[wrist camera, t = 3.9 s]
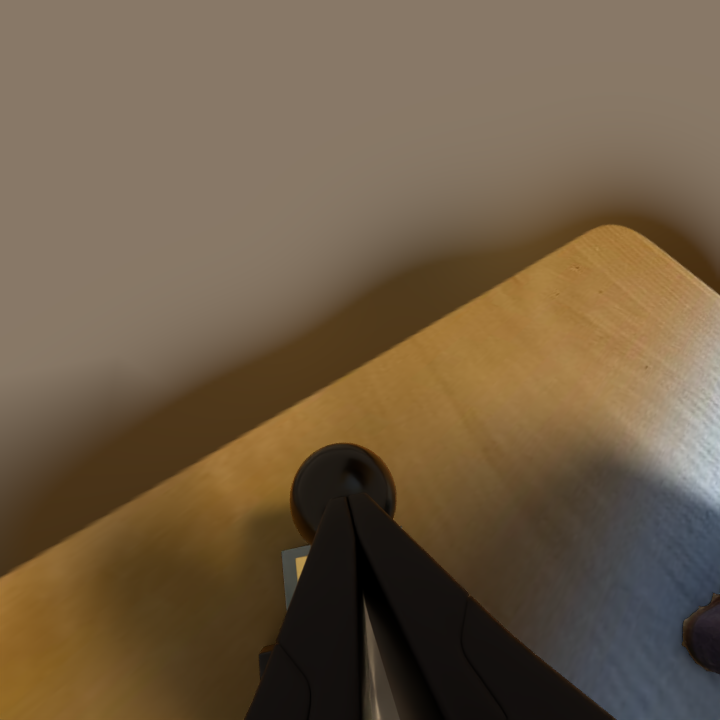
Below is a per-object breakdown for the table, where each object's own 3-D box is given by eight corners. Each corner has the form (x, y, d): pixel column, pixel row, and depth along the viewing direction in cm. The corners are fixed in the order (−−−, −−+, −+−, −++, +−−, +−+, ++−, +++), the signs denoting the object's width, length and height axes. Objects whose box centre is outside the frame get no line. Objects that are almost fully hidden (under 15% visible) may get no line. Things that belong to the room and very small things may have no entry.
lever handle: (289, 458, 12) (277, 445, 9) (378, 442, 13) (392, 425, 10) (360, 1076, 8) (377, 1396, 5) (492, 1021, 8) (576, 1291, 5)
